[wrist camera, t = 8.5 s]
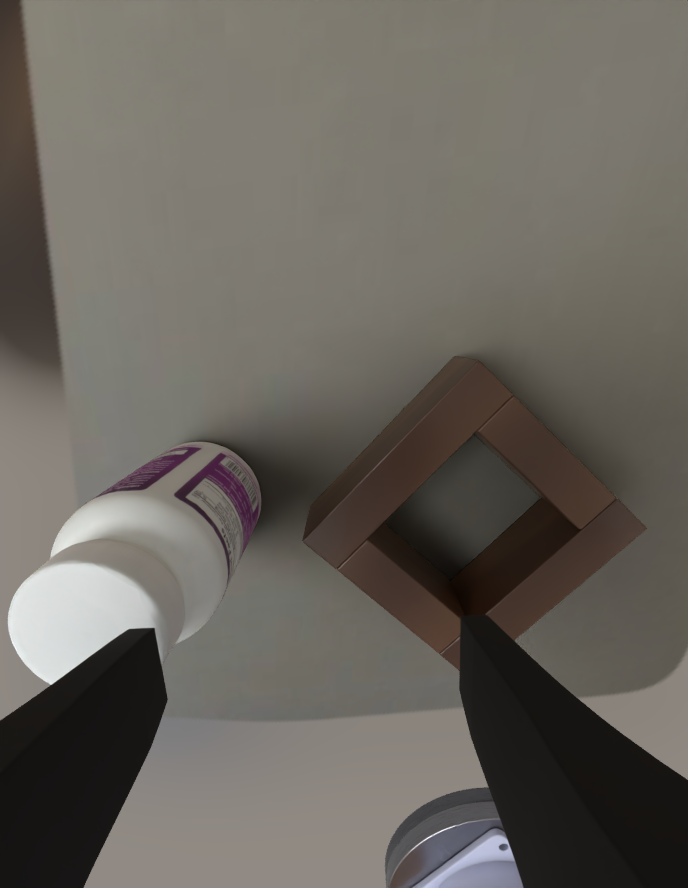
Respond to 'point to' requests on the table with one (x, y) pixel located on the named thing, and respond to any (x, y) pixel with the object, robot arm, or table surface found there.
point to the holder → (511, 555)
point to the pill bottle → (139, 559)
